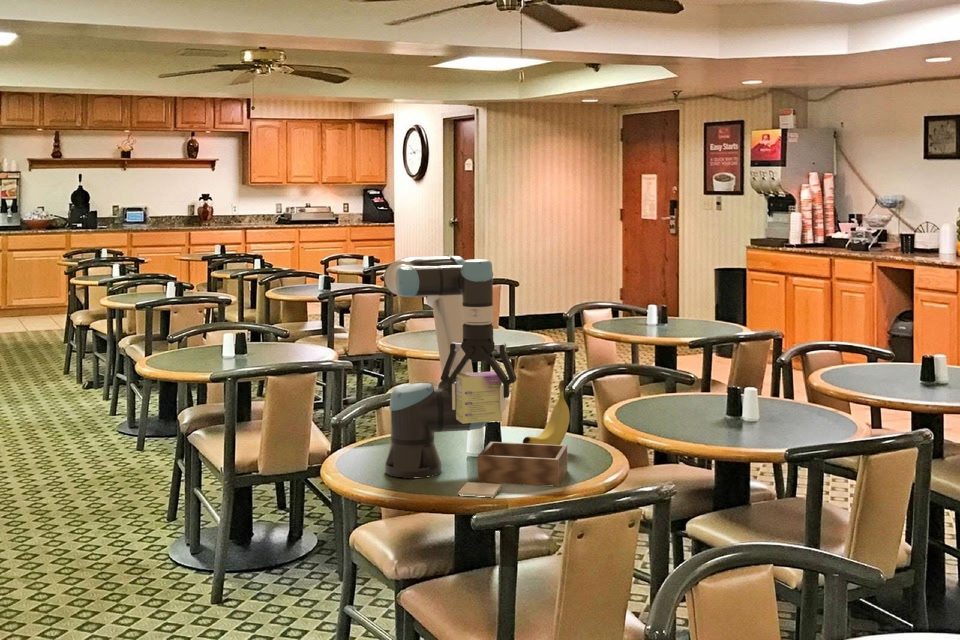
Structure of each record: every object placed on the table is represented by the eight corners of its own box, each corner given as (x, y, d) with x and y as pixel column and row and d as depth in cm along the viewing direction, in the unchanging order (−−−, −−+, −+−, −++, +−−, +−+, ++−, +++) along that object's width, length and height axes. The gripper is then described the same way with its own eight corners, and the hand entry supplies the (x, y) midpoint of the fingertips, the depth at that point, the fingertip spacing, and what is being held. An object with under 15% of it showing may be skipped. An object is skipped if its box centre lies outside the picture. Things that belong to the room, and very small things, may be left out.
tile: (458, 496, 266) (458, 492, 266) (466, 485, 275) (466, 482, 275) (493, 498, 264) (493, 494, 264) (501, 487, 273) (501, 484, 273)
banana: (534, 465, 294) (533, 393, 291) (516, 462, 297) (515, 391, 294) (574, 447, 312) (574, 379, 310) (556, 444, 316) (556, 378, 313)
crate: (478, 482, 278) (477, 455, 277) (490, 466, 293) (490, 441, 292) (558, 486, 273) (558, 459, 273) (567, 470, 288) (567, 445, 287)
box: (494, 416, 271) (494, 370, 270) (502, 421, 266) (502, 374, 264) (455, 419, 268) (454, 373, 266) (462, 424, 263) (461, 377, 261)
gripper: (426, 323, 263) (428, 410, 266) (522, 325, 257) (523, 414, 260) (435, 319, 270) (436, 404, 273) (528, 321, 265) (529, 408, 268)
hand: (478, 409), depth 267 cm, fingers closed on box, 11 cm apart
